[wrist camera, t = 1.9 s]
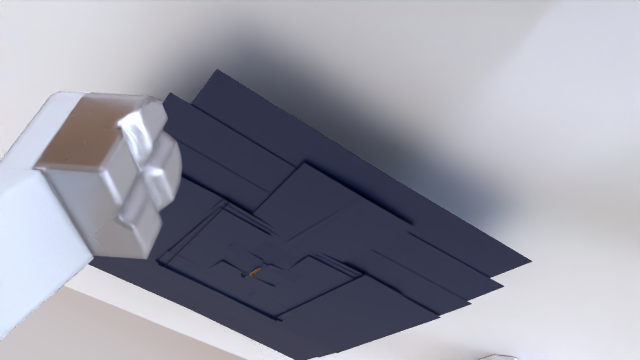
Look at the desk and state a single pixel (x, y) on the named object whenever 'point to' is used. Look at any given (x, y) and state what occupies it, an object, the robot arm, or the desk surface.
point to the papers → (301, 234)
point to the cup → (499, 358)
